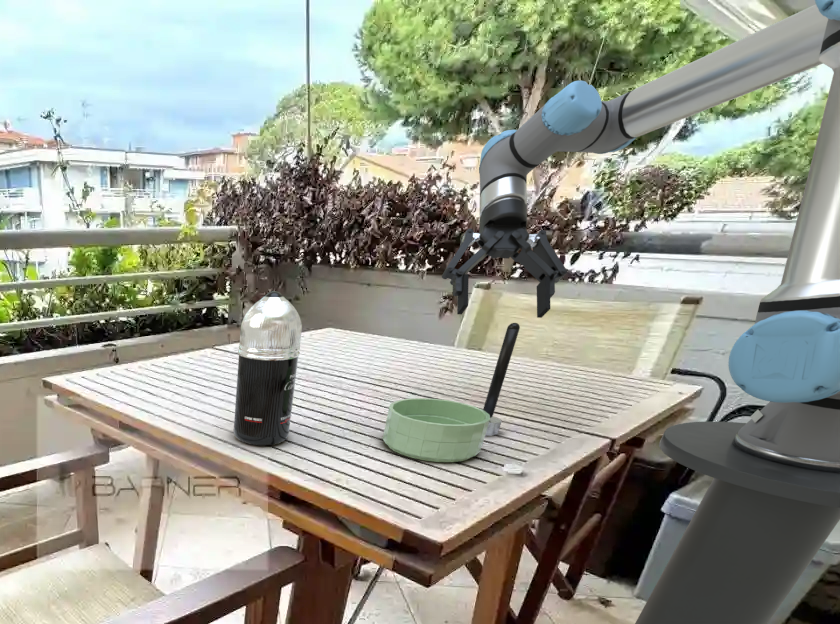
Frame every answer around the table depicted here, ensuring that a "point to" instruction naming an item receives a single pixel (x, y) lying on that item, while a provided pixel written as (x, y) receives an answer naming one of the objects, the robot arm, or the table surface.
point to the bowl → (435, 429)
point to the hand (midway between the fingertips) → (502, 311)
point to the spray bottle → (267, 371)
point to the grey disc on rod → (500, 377)
